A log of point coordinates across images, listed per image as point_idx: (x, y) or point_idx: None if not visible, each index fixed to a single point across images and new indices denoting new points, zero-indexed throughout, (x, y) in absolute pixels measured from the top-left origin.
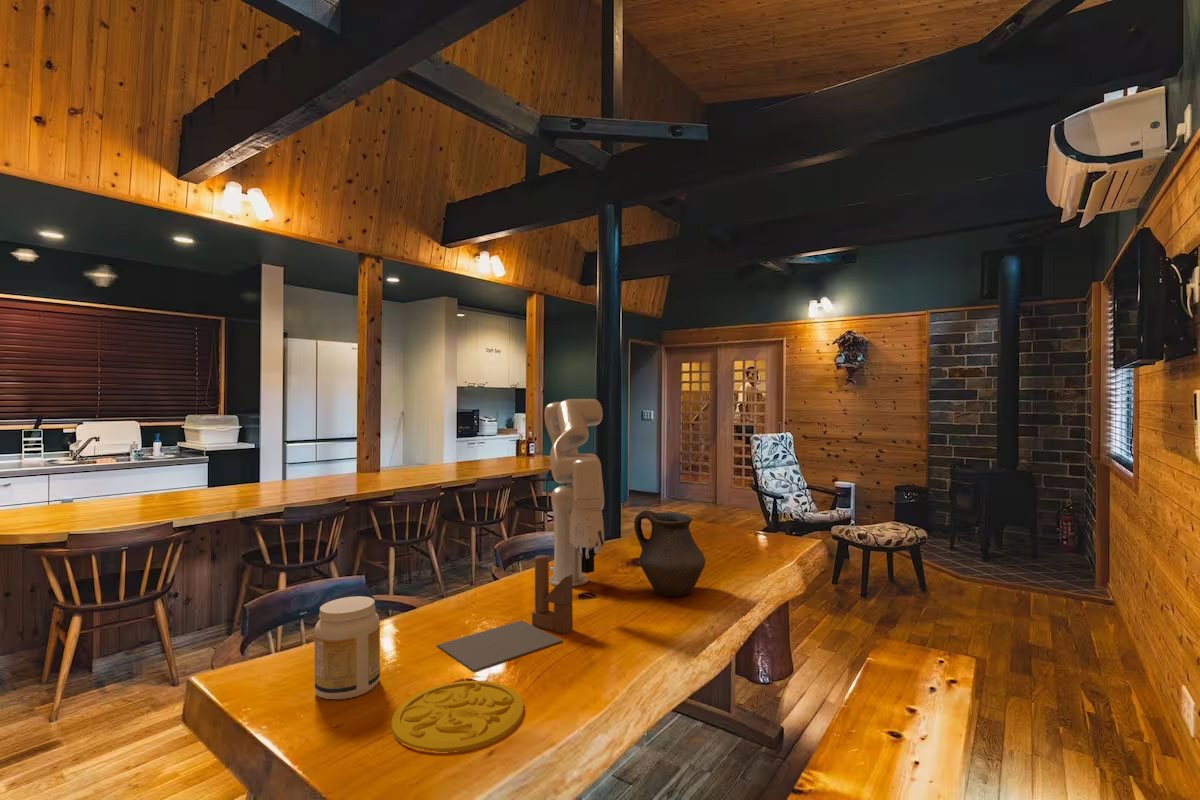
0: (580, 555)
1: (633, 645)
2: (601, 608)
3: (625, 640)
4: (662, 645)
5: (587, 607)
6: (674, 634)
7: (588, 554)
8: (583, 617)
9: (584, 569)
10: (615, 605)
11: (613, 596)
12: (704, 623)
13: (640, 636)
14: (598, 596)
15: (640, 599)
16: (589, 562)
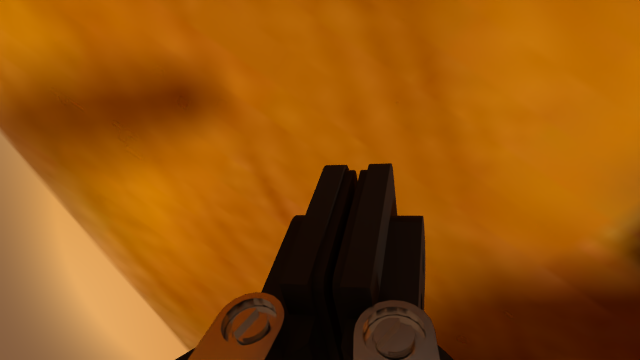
0: (421, 326)
1: (28, 24)
2: (467, 179)
3: (79, 29)
4: (16, 109)
5: (537, 139)
6: (94, 195)
7: (195, 352)
8: (423, 33)
9: (331, 184)
10: (452, 242)
11: (556, 303)
12: (148, 298)
13: (104, 102)
14: (623, 268)
15: (437, 333)
16: (271, 274)
